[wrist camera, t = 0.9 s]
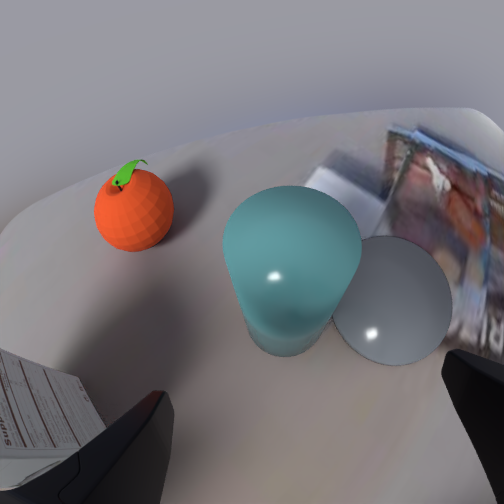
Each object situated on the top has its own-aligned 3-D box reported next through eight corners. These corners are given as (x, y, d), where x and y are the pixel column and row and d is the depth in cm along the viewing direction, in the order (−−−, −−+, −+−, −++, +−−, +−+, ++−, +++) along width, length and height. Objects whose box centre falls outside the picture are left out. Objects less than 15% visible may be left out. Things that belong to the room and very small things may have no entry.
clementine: (132, 195, 29) (105, 145, 23) (193, 195, 28) (174, 139, 22) (106, 263, 25) (65, 218, 19) (172, 269, 24) (140, 219, 18)
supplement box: (69, 482, 14) (-47, 490, 3) (32, 410, 18) (-79, 379, 7) (124, 451, 16) (-4, 461, 5) (80, 373, 20) (-40, 324, 9)
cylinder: (338, 326, 20) (388, 250, 11) (276, 372, 19) (277, 335, 10) (292, 271, 23) (301, 169, 13) (232, 311, 22) (198, 226, 12)
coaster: (469, 304, 20) (471, 303, 20) (389, 395, 17) (391, 395, 17) (390, 218, 25) (391, 215, 24) (299, 286, 22) (299, 283, 22)
